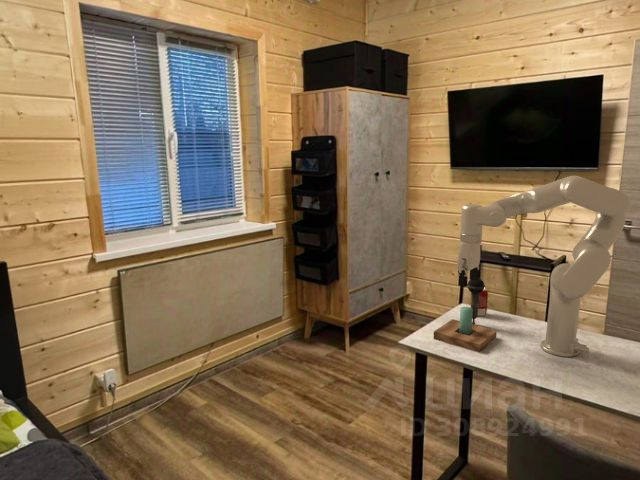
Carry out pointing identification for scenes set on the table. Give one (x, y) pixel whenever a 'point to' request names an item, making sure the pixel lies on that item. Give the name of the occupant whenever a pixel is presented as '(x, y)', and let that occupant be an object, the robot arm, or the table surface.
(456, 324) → the socket board
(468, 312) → the peg
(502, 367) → the table surface
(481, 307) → the soda can
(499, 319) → the table surface
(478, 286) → the microphone
